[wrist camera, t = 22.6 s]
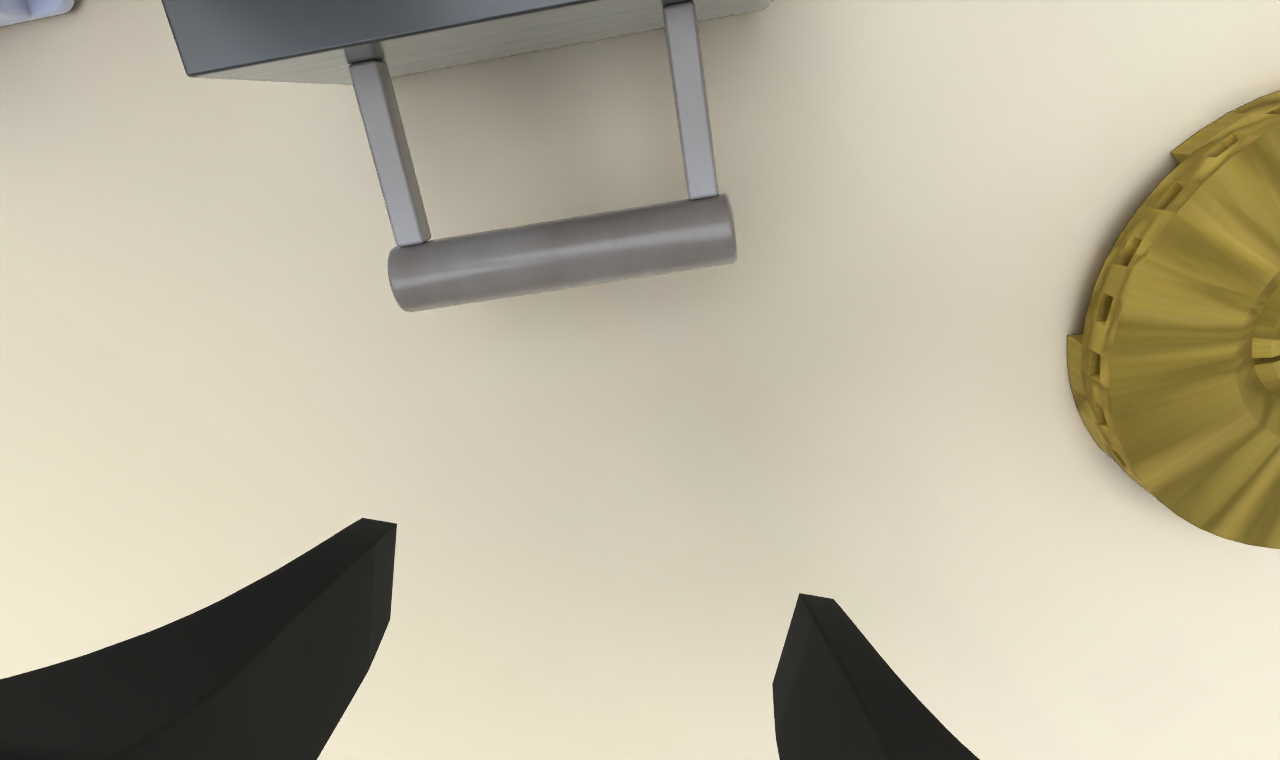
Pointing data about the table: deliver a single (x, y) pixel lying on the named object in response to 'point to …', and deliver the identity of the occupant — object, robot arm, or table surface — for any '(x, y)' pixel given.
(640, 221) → the drawer
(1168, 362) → the gold round disc
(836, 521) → the table surface
